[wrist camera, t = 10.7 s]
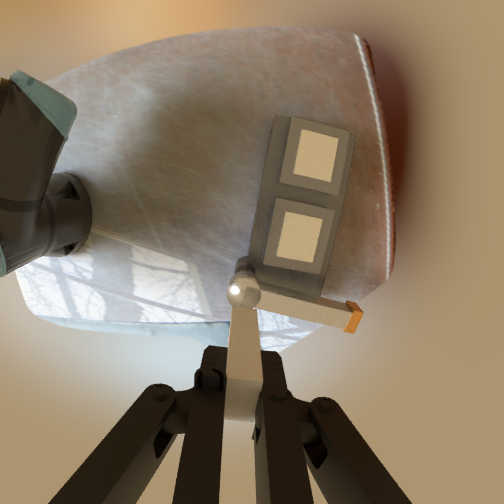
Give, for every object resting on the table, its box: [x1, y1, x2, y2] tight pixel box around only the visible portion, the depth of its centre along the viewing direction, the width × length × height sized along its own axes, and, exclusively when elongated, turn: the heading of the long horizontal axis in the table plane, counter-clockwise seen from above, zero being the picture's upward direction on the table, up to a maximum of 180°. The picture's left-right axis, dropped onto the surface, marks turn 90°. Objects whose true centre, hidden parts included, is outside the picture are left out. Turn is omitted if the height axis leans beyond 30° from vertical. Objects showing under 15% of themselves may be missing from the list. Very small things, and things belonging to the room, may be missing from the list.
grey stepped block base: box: [235, 115, 356, 297], centre depth 37 cm, size 14×26×8 cm, turn 169°
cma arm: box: [227, 271, 363, 333], centre depth 34 cm, size 18×4×3 cm, turn 74°
